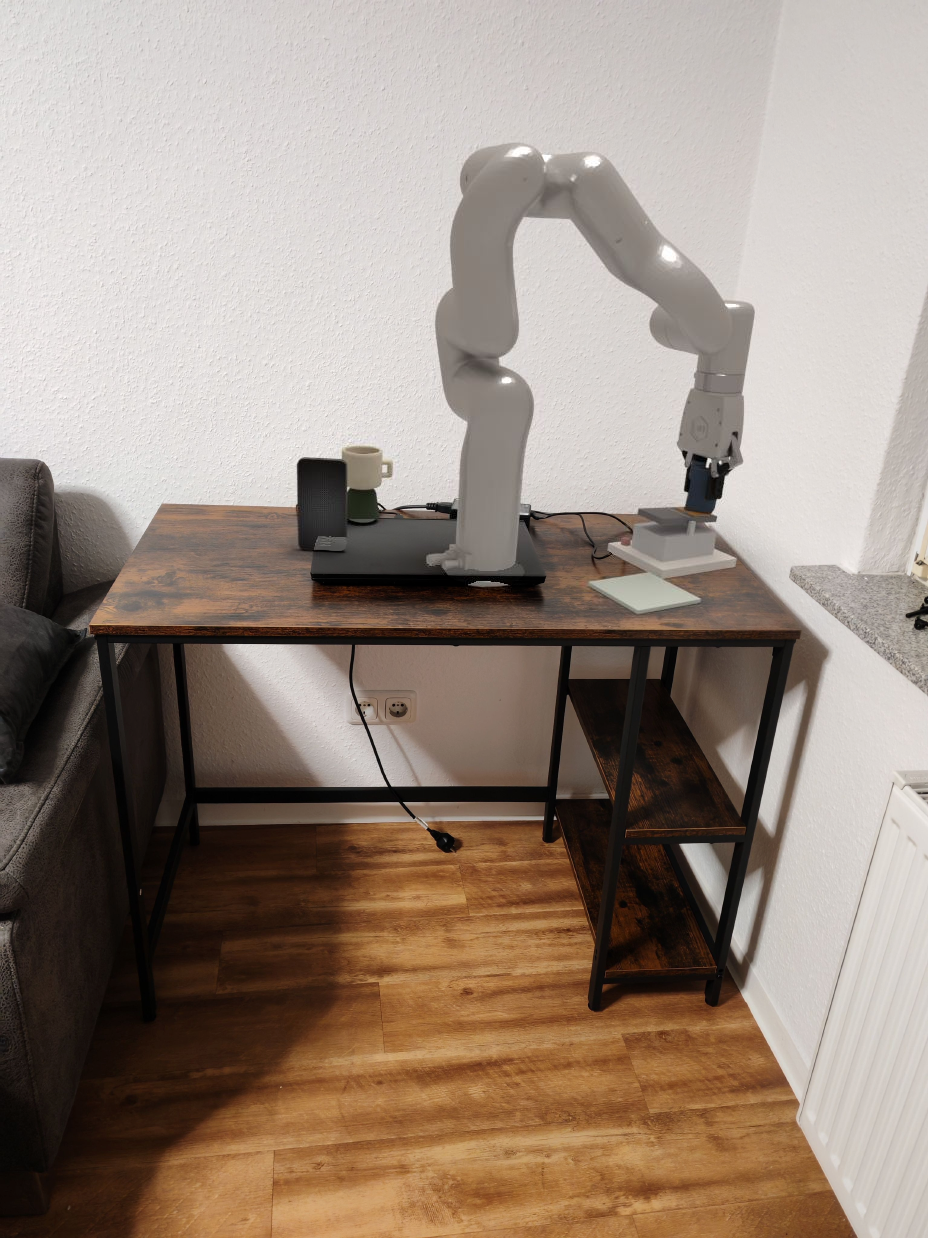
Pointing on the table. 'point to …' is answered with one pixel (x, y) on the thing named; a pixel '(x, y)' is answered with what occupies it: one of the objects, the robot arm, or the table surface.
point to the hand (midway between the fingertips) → (702, 494)
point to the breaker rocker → (675, 515)
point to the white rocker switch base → (672, 549)
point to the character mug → (364, 479)
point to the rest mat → (644, 592)
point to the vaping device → (699, 486)
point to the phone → (321, 499)
